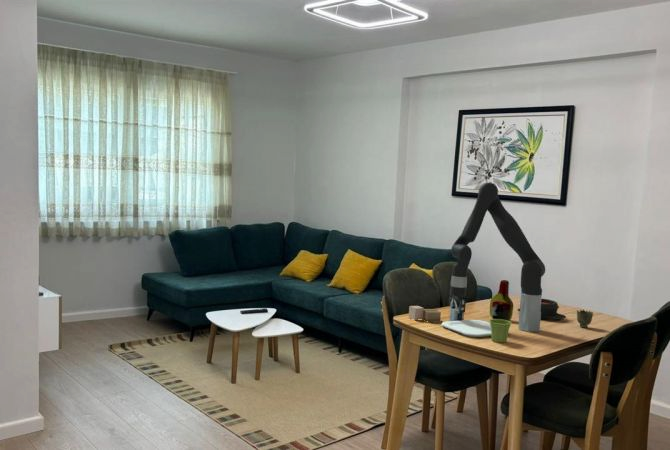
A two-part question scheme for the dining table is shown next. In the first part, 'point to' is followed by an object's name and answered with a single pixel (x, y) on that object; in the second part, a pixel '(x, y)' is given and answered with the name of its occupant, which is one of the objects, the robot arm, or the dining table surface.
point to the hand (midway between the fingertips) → (455, 318)
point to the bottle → (502, 303)
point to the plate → (469, 327)
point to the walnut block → (431, 315)
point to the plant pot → (499, 330)
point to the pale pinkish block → (416, 312)
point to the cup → (584, 318)
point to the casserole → (549, 310)
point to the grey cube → (454, 315)
